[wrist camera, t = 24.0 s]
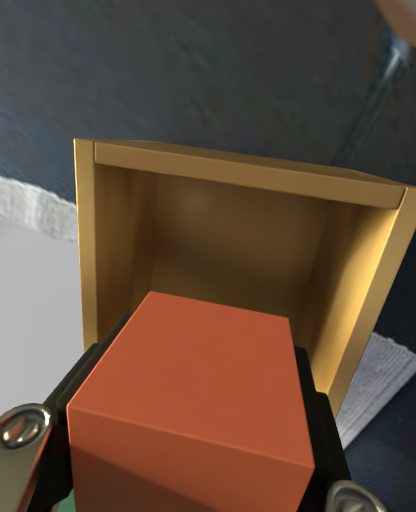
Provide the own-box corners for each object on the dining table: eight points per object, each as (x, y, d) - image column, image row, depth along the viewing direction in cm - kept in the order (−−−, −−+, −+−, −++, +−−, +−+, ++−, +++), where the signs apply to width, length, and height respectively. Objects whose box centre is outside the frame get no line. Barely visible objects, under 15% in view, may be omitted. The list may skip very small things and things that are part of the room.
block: (150, 289, 10) (65, 405, 6) (289, 317, 10) (316, 467, 5) (144, 391, 12) (76, 539, 7) (260, 418, 11) (262, 594, 7)
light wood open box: (152, 140, 19) (73, 138, 11) (351, 169, 17) (432, 190, 9) (142, 334, 25) (86, 428, 17) (290, 366, 23) (308, 484, 15)
